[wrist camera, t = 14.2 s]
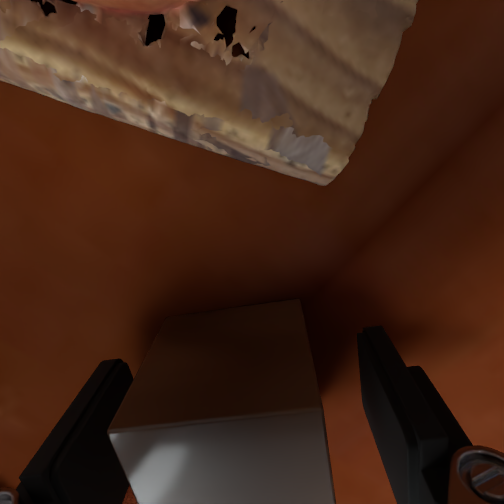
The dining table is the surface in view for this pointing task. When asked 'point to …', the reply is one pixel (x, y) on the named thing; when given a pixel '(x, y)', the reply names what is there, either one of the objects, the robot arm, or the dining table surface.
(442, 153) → the dining table surface
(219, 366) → the block
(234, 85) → the bird sculpture
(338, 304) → the dining table surface
